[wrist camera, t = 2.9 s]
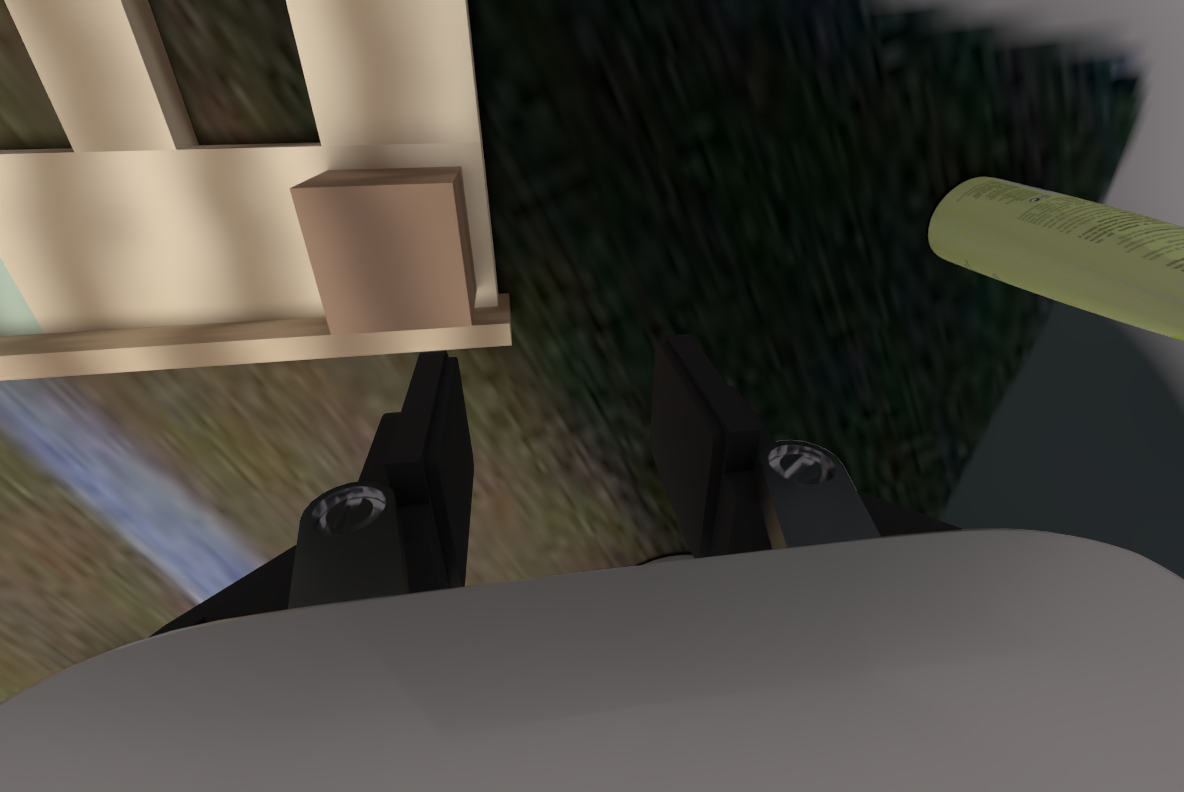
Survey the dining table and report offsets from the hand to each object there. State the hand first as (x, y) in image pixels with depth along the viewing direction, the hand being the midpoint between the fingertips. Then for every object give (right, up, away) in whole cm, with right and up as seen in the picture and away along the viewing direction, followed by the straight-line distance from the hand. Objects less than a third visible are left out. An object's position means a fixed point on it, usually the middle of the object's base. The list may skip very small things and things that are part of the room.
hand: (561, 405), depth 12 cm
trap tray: (-19, +11, +13) cm, 25 cm away
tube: (+23, +11, +20) cm, 33 cm away
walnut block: (-8, +8, +14) cm, 18 cm away
